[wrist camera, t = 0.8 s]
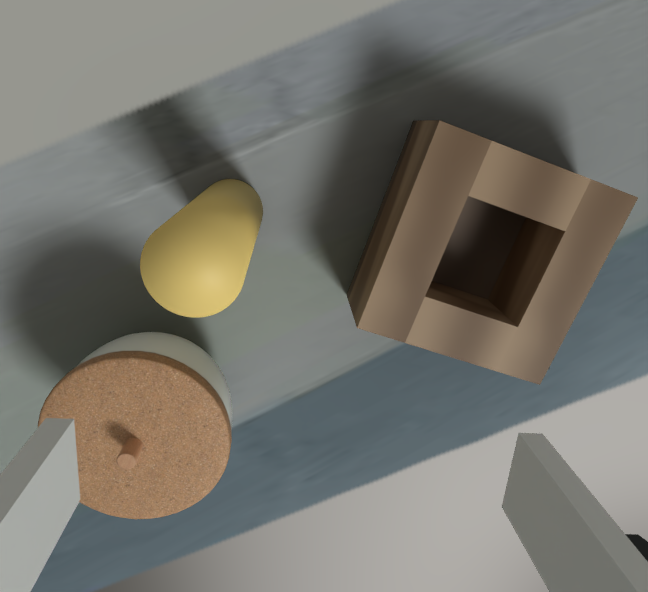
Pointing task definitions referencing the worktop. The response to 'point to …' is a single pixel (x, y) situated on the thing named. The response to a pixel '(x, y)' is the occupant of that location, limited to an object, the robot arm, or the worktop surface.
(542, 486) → the robot arm
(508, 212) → the socket block
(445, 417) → the worktop surface
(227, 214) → the dowel
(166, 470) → the lidded jar
